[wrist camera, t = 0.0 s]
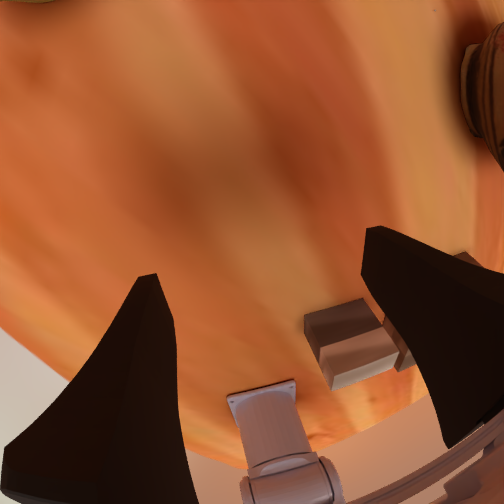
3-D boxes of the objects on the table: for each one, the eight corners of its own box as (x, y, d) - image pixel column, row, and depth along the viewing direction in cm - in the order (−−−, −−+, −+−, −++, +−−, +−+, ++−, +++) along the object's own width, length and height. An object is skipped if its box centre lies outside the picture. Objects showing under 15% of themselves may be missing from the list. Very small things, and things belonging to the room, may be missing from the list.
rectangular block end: (359, 315, 29) (392, 367, 23) (303, 332, 28) (331, 391, 22) (362, 297, 27) (399, 351, 22) (304, 314, 27) (334, 376, 21)
